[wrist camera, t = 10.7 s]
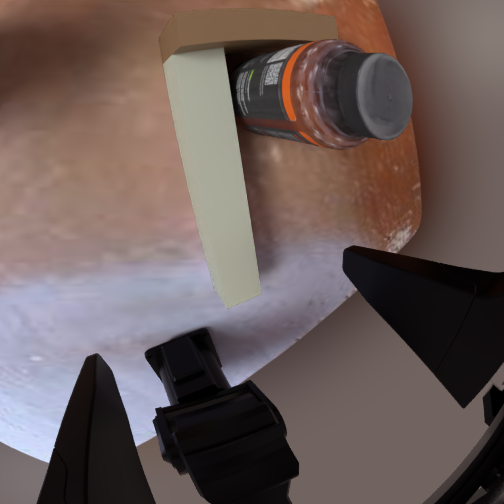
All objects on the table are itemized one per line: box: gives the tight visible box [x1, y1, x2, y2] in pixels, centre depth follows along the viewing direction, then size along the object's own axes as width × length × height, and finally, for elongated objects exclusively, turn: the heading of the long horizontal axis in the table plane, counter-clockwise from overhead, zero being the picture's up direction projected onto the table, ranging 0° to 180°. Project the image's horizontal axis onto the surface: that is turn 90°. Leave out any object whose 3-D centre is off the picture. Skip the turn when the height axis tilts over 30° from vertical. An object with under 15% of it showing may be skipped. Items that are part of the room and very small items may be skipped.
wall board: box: [159, 8, 339, 309], centre depth 18 cm, size 20×10×5 cm, turn 9°
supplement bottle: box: [229, 39, 413, 150], centre depth 14 cm, size 6×6×11 cm
